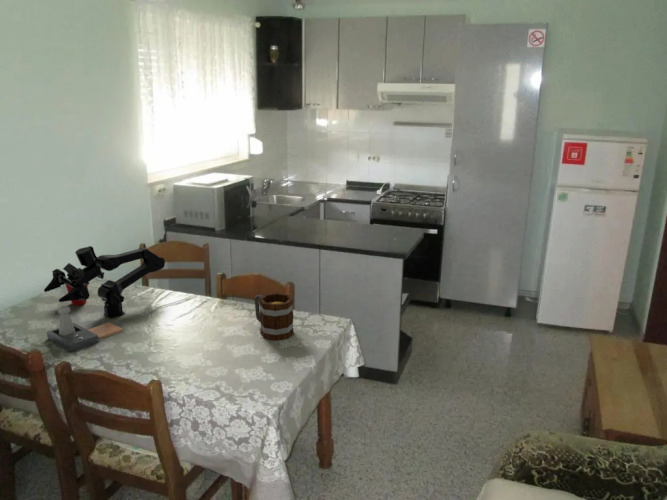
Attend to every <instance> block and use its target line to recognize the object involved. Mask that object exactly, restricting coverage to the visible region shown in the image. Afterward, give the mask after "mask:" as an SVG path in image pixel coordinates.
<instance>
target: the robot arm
mask: <svg viewBox="0 0 667 500" xmlns="http://www.w3.org/2000/svg"><path fill="white" fill-rule="evenodd" d="M74 254H75V255H76V257H77V259H78V262H79V264H80V265H81V266H83V268H81V267H78V268H77V267H76V266H74V265H73V264H72V263H70V262H68V263H67V264H66V265H65V266H64V267H63V268H62V270H61V269H59V268H56V269H54V270H52V272H51V273H52V275H51V276H52V279H51V280H50V282H49V283H48V284H47V285H46V287H45V288H44V289H43V292H44V293H46V292H49V291H53V290H55V289H58V288H59V289H60V288H61V287H62V286H63V285H65V283H66V284H67V285H69V286H70V287H72V288H73V289H72V290H71V291H70V292H69V293H68V292H67V293H65V295H63V296H61V297H60V298H59V299H58V302H59V303H64V302H69V301H70V302H71V301H72V300H84V301H85V300H86V301H87V300H88V299H89V298H90V292H89V289H88V286H89V285H90V282H91V281H92V280H94V279H96V278H97V279H101V280H103V279H104V277H105V272H103V271H102V270H104V271H107V272H111V271H114V270H115V269H118V268H119V267H120V266H121V265H123V264H124V265H125V264H127V263H130V262H134V261H137V260H142V261H143V262H142V263H141V265H139V266H138V267H136V268H134V269H133V270H131V271H130V272H128V273H127V274H126V275H124V276H122V277H121V278H119V279H118V280H116V281H113V280H110V279H108V280H107V281H105V282H104V283H101V284H100V286H99V287H98V288H97V289H98V290H97V296H98V298H100V299H101V300H102V301H103V303H104V305H103V312H104V313H103V316H105V317H108V318H110V319H115V318H117V317H120V316H124V315H125V314H126V312H124V311H123V310H124V309H123V303H124V300H125V297H124V296H123V295H122V293H123V291H124V290H125V289H127V288H128V287H129V286H131V285H132V284H134V283H136V282H137V281H139V280H141V279H142V278H143V277H144V276H146V275H148V274H150V273H155V272H159V271H160V270H162V269H164V268H165V264H166V260H165V258H164V257H161V256H158V255H157V254H155V253H153V252H152V251H150V250H149V249H148V248H144V247H139V248H137V249H133V250H130V251H125V252H122V253H119V254H101V255H99V256H97V255H96V252H95V250H94V247H93V246H90V245H88V246H86V247H82V248H78V249H77V250H75V253H74ZM63 270H64V271H63ZM65 272H66V273H65ZM67 277H68V279H67ZM84 284H86V285H88V286H87V287H86V286H84Z"/></svg>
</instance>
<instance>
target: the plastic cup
mask: <svg viewBox="0 0 667 500" xmlns="http://www.w3.org/2000/svg"><path fill="white" fill-rule="evenodd" d="M66 278H67V279H68V276H66ZM64 285H65V287H66V290H67V293H69V292H70V291H71V290H72V289H73V288H72V287H70V286H69V285H67V284H66V283H65V284H64ZM84 286H86V287H87V288H88V286H89V285H86V284H84ZM70 302H71V304H72V306H75V307H77V306H78V307H79V306H83V305H85V304H86V303H87V299H86V300H85V301H84V300H72V301H70Z"/></svg>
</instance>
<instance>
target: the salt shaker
mask: <svg viewBox="0 0 667 500" xmlns="http://www.w3.org/2000/svg"><path fill="white" fill-rule="evenodd" d="M70 312H71V307H70V306H68V305H63V306H60V307H58V308H57V313H58V314H59V316H60V317H59V324H58V328H59V335H60V336H61V337H63V336H66V335H69V334H72V333H75V329H74V326H73V323H74V322H73V321H72V318H71V314H70Z"/></svg>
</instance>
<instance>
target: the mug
mask: <svg viewBox="0 0 667 500" xmlns="http://www.w3.org/2000/svg"><path fill="white" fill-rule="evenodd" d="M293 305H294V298H293V296H291V295H290V294H288V293H281V292H273V293H265V294H264V295H262V294H261V293H260V294H257V295H255V296H254V307H255V318H256V320H257V321H258V322H259V323H260V335H261V337H262V336H263V337H262V338H263V340H267V339H268V340H267V341H273V342H278V341H283V340H289V339H290V338H291V337H292V336H293V335H294V334H295V331H294V311H293V310H294V309H293Z"/></svg>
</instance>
